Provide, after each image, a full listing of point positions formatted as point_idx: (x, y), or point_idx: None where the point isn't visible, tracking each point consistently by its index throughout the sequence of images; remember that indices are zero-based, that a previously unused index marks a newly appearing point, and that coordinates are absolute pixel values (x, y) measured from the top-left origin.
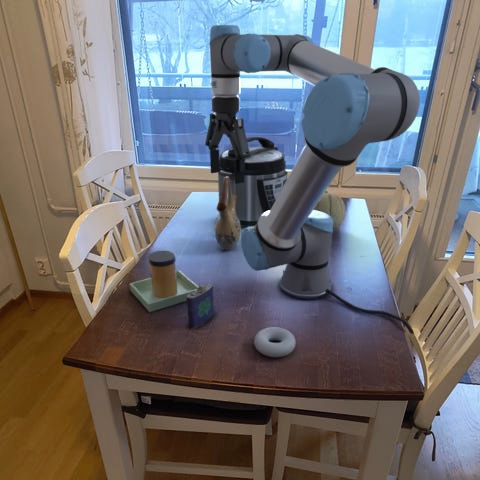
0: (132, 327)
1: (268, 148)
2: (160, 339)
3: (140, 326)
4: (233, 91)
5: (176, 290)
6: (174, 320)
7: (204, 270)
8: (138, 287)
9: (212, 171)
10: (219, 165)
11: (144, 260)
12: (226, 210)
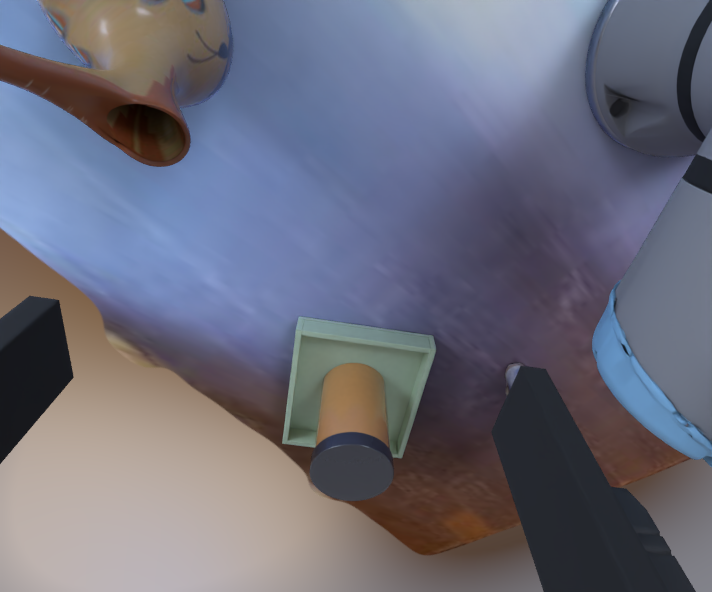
0: (423, 481)
1: None
2: (497, 469)
3: (431, 472)
4: None
5: (381, 381)
6: (467, 426)
7: (308, 236)
8: (291, 418)
9: (61, 383)
10: (10, 344)
11: (128, 327)
12: (179, 109)
